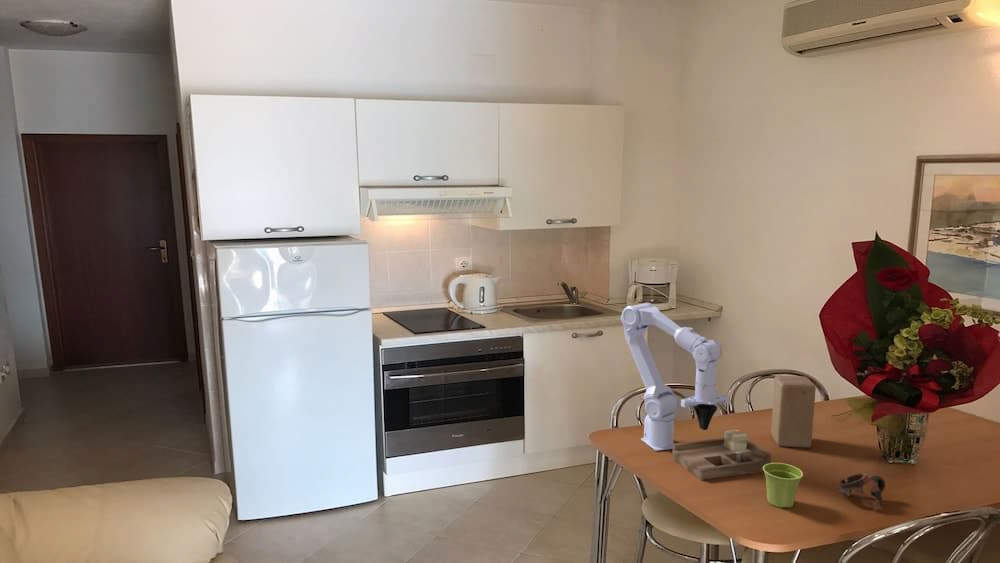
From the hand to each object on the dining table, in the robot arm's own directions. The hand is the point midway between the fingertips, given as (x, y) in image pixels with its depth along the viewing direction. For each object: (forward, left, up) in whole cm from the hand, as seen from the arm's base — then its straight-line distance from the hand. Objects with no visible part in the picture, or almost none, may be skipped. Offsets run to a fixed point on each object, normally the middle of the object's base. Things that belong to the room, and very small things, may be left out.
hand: (703, 428), depth 200 cm
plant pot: (+29, +4, -10) cm, 31 cm away
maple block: (+1, +10, -6) cm, 12 cm away
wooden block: (-4, +34, -10) cm, 36 cm away
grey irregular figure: (+34, +25, -10) cm, 44 cm away
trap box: (+4, +3, -9) cm, 11 cm away
